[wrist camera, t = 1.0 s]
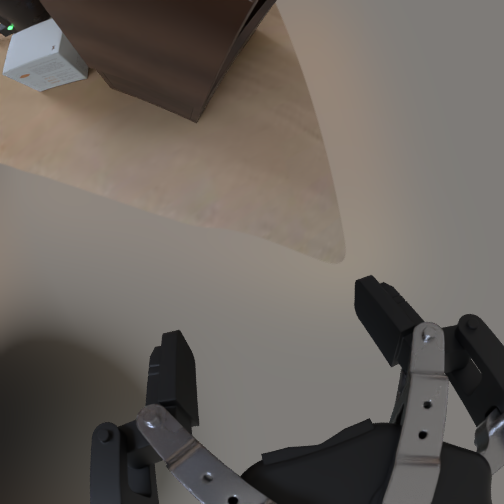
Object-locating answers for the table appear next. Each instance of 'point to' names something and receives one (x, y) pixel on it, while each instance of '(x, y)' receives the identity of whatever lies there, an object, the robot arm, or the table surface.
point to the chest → (194, 114)
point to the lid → (155, 40)
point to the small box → (43, 58)
